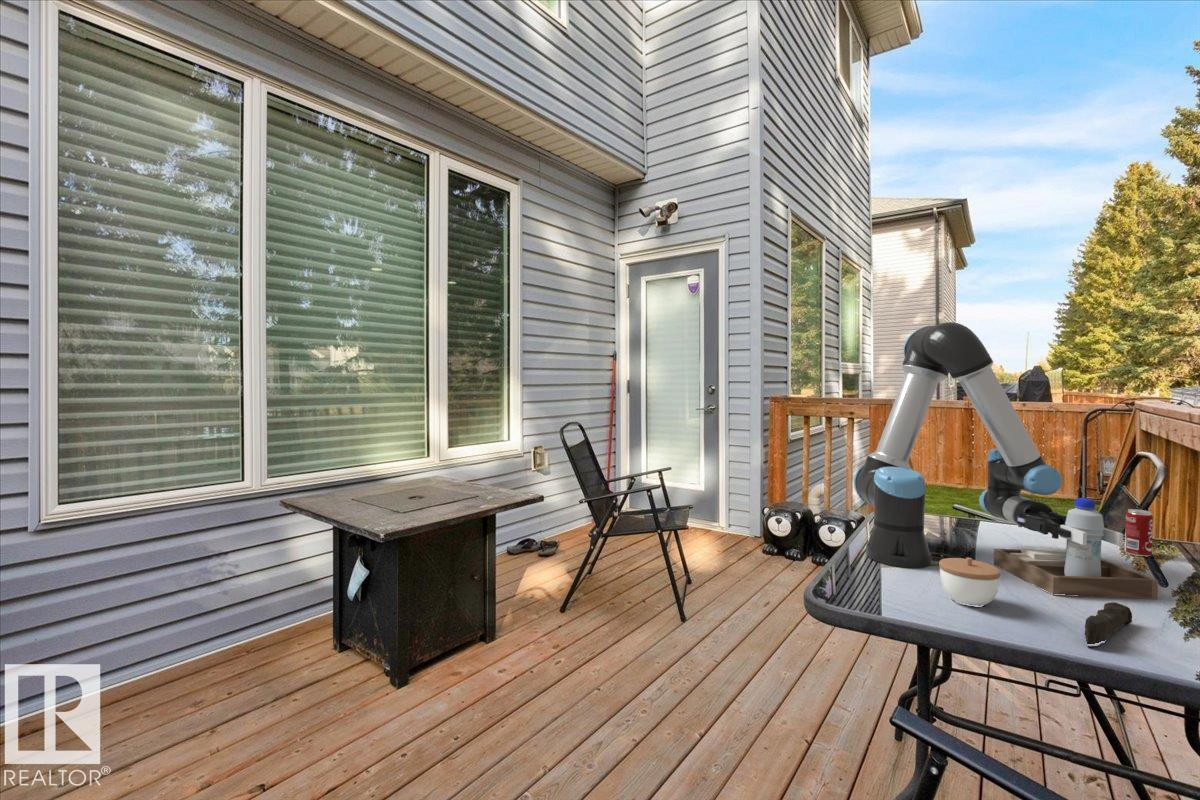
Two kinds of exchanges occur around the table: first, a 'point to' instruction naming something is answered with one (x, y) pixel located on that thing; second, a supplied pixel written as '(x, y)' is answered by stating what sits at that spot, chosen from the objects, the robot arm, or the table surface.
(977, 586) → the lidded jar
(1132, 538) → the soda can
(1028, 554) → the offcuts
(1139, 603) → the table surface
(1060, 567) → the tray
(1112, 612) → the dark brown lumpy bar
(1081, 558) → the bottle
